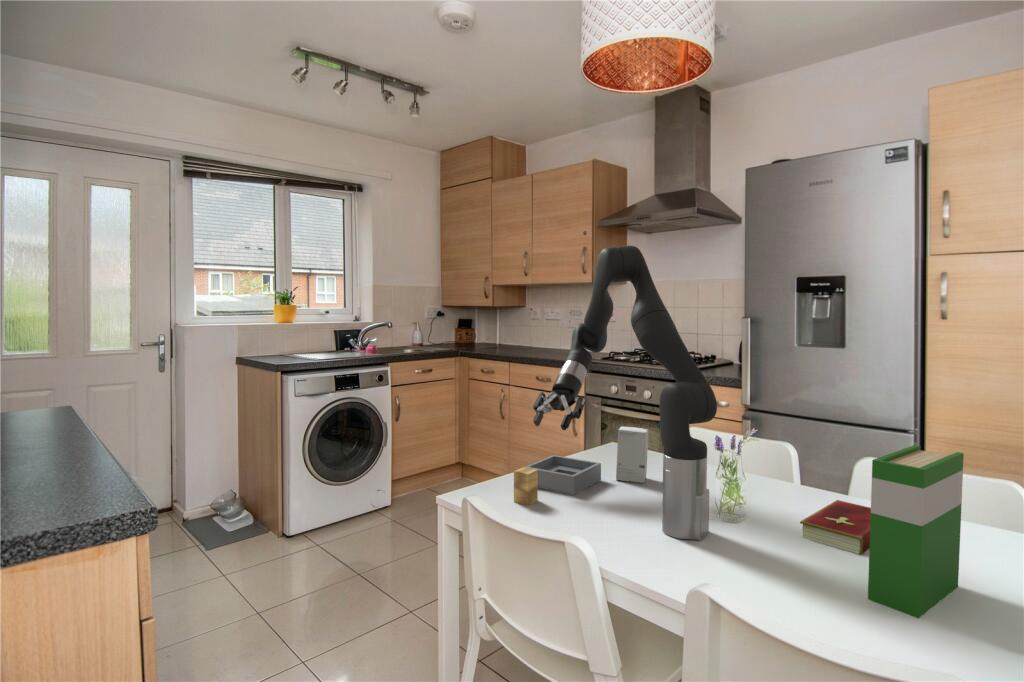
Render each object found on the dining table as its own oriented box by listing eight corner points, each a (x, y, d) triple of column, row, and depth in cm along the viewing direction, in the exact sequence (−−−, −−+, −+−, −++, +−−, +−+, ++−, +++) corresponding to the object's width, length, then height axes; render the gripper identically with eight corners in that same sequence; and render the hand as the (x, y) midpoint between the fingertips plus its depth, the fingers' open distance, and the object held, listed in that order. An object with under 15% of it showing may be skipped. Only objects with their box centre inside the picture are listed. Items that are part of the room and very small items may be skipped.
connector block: (537, 500, 147) (537, 469, 146) (528, 505, 143) (528, 473, 143) (523, 497, 149) (523, 467, 149) (513, 501, 146) (513, 471, 145)
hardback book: (909, 571, 107) (914, 444, 105) (958, 586, 101) (963, 453, 99) (867, 599, 97) (872, 459, 95) (918, 618, 91) (924, 470, 89)
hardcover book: (894, 530, 127) (895, 512, 127) (861, 557, 114) (862, 537, 113) (836, 515, 137) (837, 498, 136) (799, 539, 123) (800, 520, 123)
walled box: (600, 480, 164) (601, 463, 164) (573, 495, 151) (574, 476, 150) (553, 471, 173) (553, 455, 173) (523, 484, 160) (523, 467, 160)
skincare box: (615, 480, 163) (616, 429, 162) (619, 475, 169) (619, 425, 168) (645, 483, 160) (646, 431, 160) (648, 477, 166) (648, 427, 165)
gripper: (544, 370, 165) (522, 415, 157) (588, 373, 157) (567, 421, 149) (553, 386, 170) (532, 431, 161) (596, 390, 162) (576, 438, 153)
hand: (549, 426), depth 155 cm, fingers open, 8 cm apart
